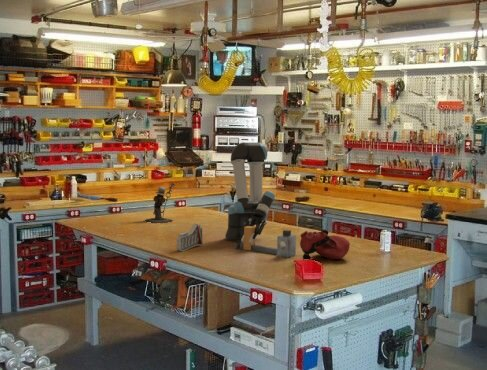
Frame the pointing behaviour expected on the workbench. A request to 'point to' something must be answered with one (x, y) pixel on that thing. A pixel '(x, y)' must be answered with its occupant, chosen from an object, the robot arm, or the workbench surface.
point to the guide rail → (257, 248)
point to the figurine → (159, 202)
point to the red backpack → (323, 245)
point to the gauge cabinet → (286, 246)
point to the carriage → (248, 237)
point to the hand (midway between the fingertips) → (246, 242)
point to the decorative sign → (190, 238)
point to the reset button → (286, 232)
